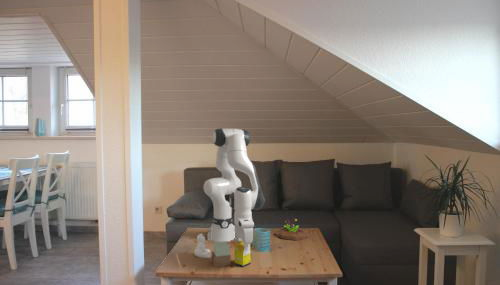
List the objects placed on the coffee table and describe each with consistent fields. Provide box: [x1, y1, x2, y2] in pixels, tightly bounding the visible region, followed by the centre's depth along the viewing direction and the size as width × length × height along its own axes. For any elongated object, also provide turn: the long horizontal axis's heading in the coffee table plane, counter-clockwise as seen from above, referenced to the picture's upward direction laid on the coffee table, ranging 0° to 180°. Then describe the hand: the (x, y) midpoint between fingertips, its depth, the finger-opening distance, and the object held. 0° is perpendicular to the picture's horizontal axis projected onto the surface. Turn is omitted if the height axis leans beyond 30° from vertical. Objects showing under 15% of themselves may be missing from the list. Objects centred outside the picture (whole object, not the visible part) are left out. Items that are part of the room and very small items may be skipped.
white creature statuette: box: [193, 233, 211, 259], centre depth 192 cm, size 10×9×12 cm
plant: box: [275, 217, 309, 241], centre depth 231 cm, size 20×20×11 cm
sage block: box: [212, 241, 231, 257], centre depth 182 cm, size 7×7×5 cm
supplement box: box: [234, 240, 252, 268], centre depth 181 cm, size 6×6×11 cm
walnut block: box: [211, 251, 232, 267], centre depth 182 cm, size 8×8×5 cm
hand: (242, 247), depth 181 cm, fingers open, 8 cm apart
